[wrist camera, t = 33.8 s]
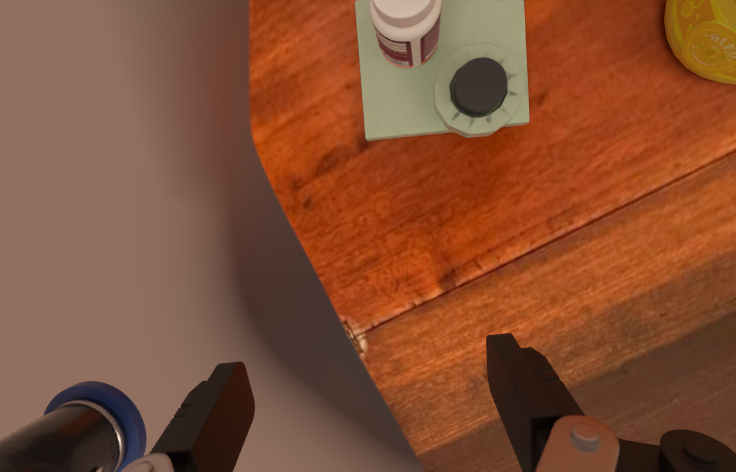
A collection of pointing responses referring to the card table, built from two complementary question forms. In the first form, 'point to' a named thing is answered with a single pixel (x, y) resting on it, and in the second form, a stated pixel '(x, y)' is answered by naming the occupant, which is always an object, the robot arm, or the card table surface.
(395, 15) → the pill bottle
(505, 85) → the button
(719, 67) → the mug
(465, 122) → the scale
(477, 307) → the card table surface
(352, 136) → the card table surface
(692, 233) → the card table surface
